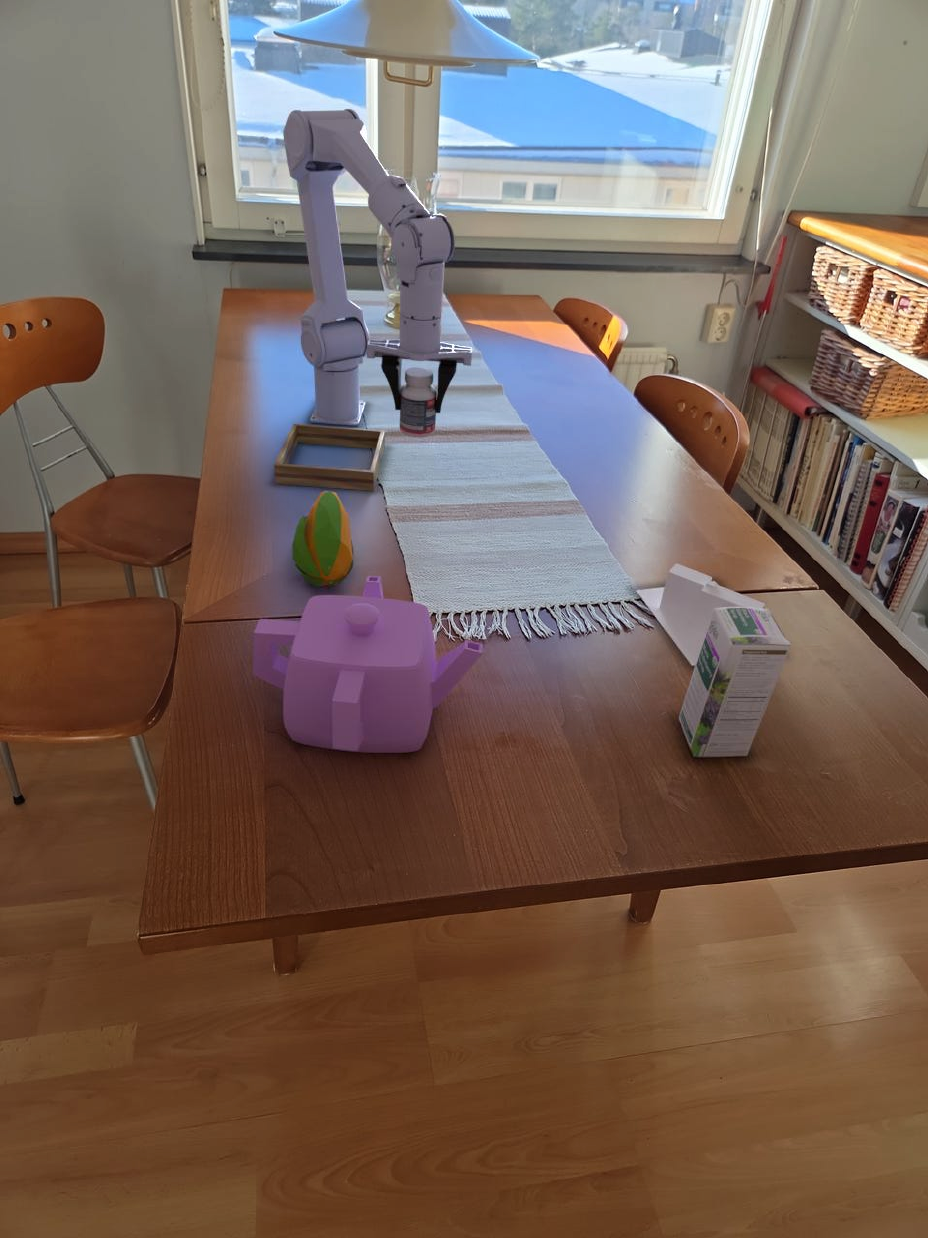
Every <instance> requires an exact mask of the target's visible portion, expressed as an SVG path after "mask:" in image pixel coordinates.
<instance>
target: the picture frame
mask: <svg viewBox="0 0 928 1238" xmlns="http://www.w3.org/2000/svg"><path fill="white" fill-rule="evenodd" d="M385 440H386V431H385V429H372V428H357V427H344V426H330V425H319V424H318V425H317V424H305V423H293V425H292V427H291V428H290V430H289V433H288V435H287V437H286V438H285V441H284V443H283V444H282V448H281V449H280V452H279V454H278V455H277V459H276V460H275V462H274V464H273V469H274V482H275V484H276V485H286V486H287V485H288V486H301V487H302V486H303V487H312V488H313V487H314V488H326V489H327V488H328V489H329V488H330V489H341V490H356V491H369V492H374V491H375V488H376V484H377V480H378V476H379V472H380V468H381V464H382V461H383V456H384V452H385V447H386V445H385V444H386V441H385ZM298 444H307V445H317V446H318V445H319V446H332V447H346V448H359V449H372V450H374V449H375V450H374V451H375V452H374V455H373V458H372V462H371V466H370V469H355V468H344V467H329V466H317V465H316V466H314V465H313V466H312V465H304V464H302V465H301V464H290V461H291V459H292V457H293V455H294V453H295V451H296V448H297V447H298V446H297V445H298Z"/></svg>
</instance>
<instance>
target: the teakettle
mask: <svg viewBox="0 0 928 1238" xmlns="http://www.w3.org/2000/svg"><path fill="white" fill-rule="evenodd" d="M278 645H283V646H284V645H285V646H291V649H290V654H289V658H287V657H285V656H283V655H281V654H280V653H279V648H278ZM483 645H484V644H483V643H481V642H477V641H474V640H469V639H464V641H463V642H462V643H460V644H459V645H458V646H456V647H455V648H453V649H452V650H450V651H449V652H447V653H446V654H444V655H442V656H441V657H440V658H439V659H437V655H436V654H437V653H436V641H435V636H434V631H433V625H432V621H431V616H430V612H429V608H428V606H426V605H424V604H421V603H418V602H414V601H409V600H401V599H394V598H387V597H384V592H383V584H382V575H370V574H369V575H367V577H366V580H365V586H364V589H363V594H362V595H343V594H341V595H340V594H321V595H314V596H311V597H310V598H309V599H308V601H307V603H306V604H305V607H304V610H303V611H302V615H301V617H300V619H299V621H298V620H285V619H269V618H259V620H258V622H257V624H256V627H255V628H254V631H253V653H252V654H253V657H252V658H253V659H252V661H253V662H252V665H253V666H252V675H253V676H255V677H257V678H259V679H261V680H263V681H265V682H267V683H268V684H271V685H273V686H275V687H277V688H278V689H281V690H282V691H283V697H282V701H283V702H282V712H283V713H282V714H283V725H284V728H285V730H286V733H287V734H288V736H289V737H290V739H291V740H292V741H293V742H295V743H298V744H302V745H305V746H311V747H314V748H315V747H316V748H322V749H327V750H335V751H341V752H349V753H352V752H353V753H363V754H364V753H365V754H366V753H367V754H404V753H415V752H417V751H419V750H421V749H422V747H423V745H424V743H425V742H426V741H425V740H426V738H427V737H428V733H429V729H430V725H431V720H432V715H433V710H434V709H436V708H438V707H439V706H440V704H441V703H442V702H443V701H444V700H445V698H446V697H448V695H449V693H451V691H452V690H453V689H454V688H455V687H456V685H458V683H459V682H460V681H461V680H462V679H463V677H465V675H466V674H467V673H468V672H469V670H470V669H471V668H472V667H473V666H474V665H475V663H477V661H478V660H479V659H480V657H481V656H482V655H483V647H484V646H483Z"/></svg>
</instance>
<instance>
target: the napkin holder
mask: <svg viewBox="0 0 928 1238" xmlns="http://www.w3.org/2000/svg"><path fill="white" fill-rule="evenodd" d="M635 592H636V593H637V594H638V596H639V597H640V598H641V600H642V601H643V602H644V604H645V606H647V608H648V609H649V610H650V612H651V613H652V615H653V616H654V617H655V619H656V620H657V621H658V622H659V624H660V625H661V626H662V628H663V629H664V631H665V632H666V633H667V635H668V636H669V638H670V639H671V640H672V641H673V642H674V644H675V645H676V646H677V648H678V649H679V651H680V652H681V653H682V655H683V656H684V658H686V660H687V662H688V663H689V664H690V666H692V667H695V665H696V662H697V659H698V656H699V653H700V650H701V647H702V644H703V641H704V637H705V634H706V631H707V628H708V625H709V622H710V619H711V616H712V613H713V609H714V608H720V607H754V608H763V609H765V608H766V606H767V605H766V604H767V603H765V602H762V601H760V600H757V599H754V598H752V597H750V596H747V595H745V594H742V593H739V592H737V591H734V590H732V589H729V588H727V587H724V586H721V585H719V584H718V582H716V581H715V580H713V577H712V576H711V575H708V574H706V573H703V572H701V571H698V570H695V569H692V568H690V567H688V566H685V565H683V564H680V563H677V562H676V563H675V564H674V565H673V566H672V567H671V569H669V570H668V571H667V576H666V580H665V584H664V586H661V587H652V588H645V589H636V590H635Z"/></svg>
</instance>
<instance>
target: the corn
mask: <svg viewBox="0 0 928 1238" xmlns="http://www.w3.org/2000/svg"><path fill="white" fill-rule="evenodd" d="M292 559H293V562H294V564H295V567H296V568H297V569H298V571H299V573H300V574H301V576H302V577H303V578H304V580H305V581H306V582H307V583H309V584H310V585H312V586H314V587H316V588H320V587H322V586H328V588H331V587H334V586H336V585H338V584H340V583H342V582H343V581H344V580H345V579H346V578H347V577H348V576H349V575H350V574H351V572H352V569H353V567H354V546H353V541H352V533H351V523H350V516H349V514H348V512H347V510H346V508H345V506H344V505H343V503H342V501H341V499H340V497H339V496H338V494H337V492H336V491H335V492H334V491H330V490H329V491H328V490H324V491H322V492H320V493H319V495H318V496H317V498H316V499H315V501H314V503H313V504H312V506H311V508H310V510H309V513H308V515H307V517H306V514H303V515H302V516H301V517H300V519H299V521H298V523H297V525H296V528H295V533H294V536H293V541H292Z"/></svg>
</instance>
